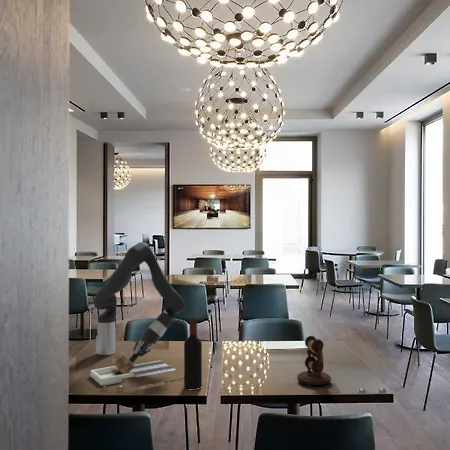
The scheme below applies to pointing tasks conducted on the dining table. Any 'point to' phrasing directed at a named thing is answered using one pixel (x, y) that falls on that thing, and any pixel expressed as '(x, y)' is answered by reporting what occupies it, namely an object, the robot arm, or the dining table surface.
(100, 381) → the tray
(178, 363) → the dining table surface
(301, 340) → the dining table surface
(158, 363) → the slot plate
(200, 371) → the wine bottle
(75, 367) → the dining table surface
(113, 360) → the block
